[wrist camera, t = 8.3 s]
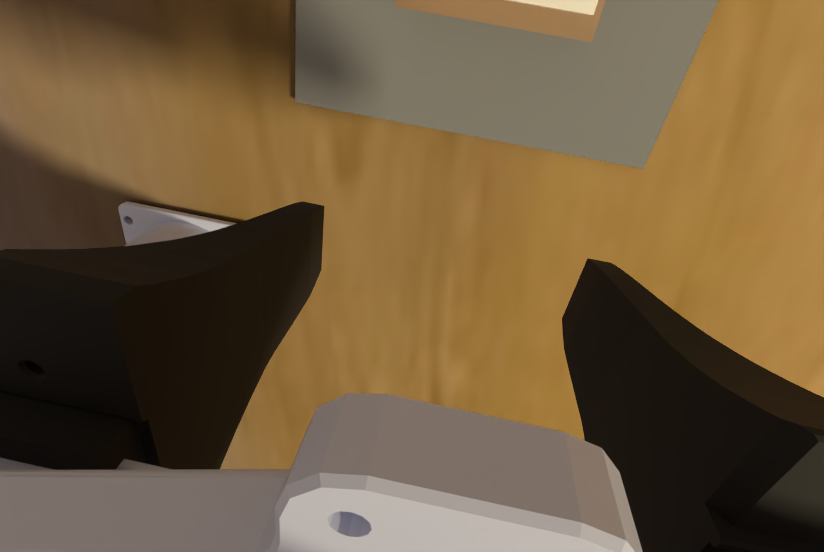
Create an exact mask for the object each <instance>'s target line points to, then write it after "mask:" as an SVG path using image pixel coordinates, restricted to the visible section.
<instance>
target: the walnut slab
mask: <svg viewBox="0 0 824 552" xmlns="http://www.w3.org/2000/svg"><path fill="white" fill-rule="evenodd" d="M605 1H606V0H598V3H597V6H596V9H595V12H594V15H587V14H579V13H573V12H567V11H562V10H556V9H550V8H545V7H539V6H534V5H528V4H522V3H517V2H511V1H506V0H395V6H394V7H400V8H405V9H411V10H416V11H422V12H427V13H433V14H438V15H444V16H450V17H455V18H461V19H466V20H472V21H477V22H483V23H488V24H494V25H499V26H505V27H510V28H516V29H521V30H527V31H532V32H538V33H543V34H549V35H554V36H560V37H565V38H571V39H576V40H582V41H587V42H592V40H593V37H594V34H595V31H596V28H597V25H598V22H599V19H600V16H601V13H602V10H603V7H604V4H605Z"/></svg>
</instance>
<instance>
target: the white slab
mask: <svg viewBox="0 0 824 552" xmlns="http://www.w3.org/2000/svg"><path fill="white" fill-rule="evenodd" d="M506 1H511V2H517V3H522V4H528V5H534V6H539V7H545V8H550V9H556V10H562V11H567V12H573V13H579V14H587V15H594V12H595V9H596V6H597V3H598V0H506Z"/></svg>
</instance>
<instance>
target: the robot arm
mask: <svg viewBox="0 0 824 552" xmlns="http://www.w3.org/2000/svg"><path fill="white" fill-rule="evenodd" d="M118 210H119V215H120V219H121V223H122V228H123V232H124V237H125V241H126V245H124V246H121V247H109V248H92V249H67V250H20V249H4V250H1V251H0V552H824V397H821V396H819V395H817V394H815V393H812V392H810V391H808V390H806V389H804V388H802V387H800V386H798V385H796V384H794V383H792V382H790V381H788V380H786V379H784V378H782V377H780V376H778V375H776V374H774V373H772V372H770V371H768V370H767V369H765V368H763V367H761V366H759V365H757V364H755V363H753V362H752V361H750V360H748V359H746V358H745V357H743V356H741V355H739V354H738V353H736V352H735V351H733V350H731V349H730V348H728V347H726V346H725V345H723V344H722V343H720V342H718V341H717V340H715V339H713V338H712V337H710V336H709V335H707V334H706V333H704V332H703V331H701V330H700V329H699V328H697V327H696V326H694V325H693V324H692V323H690V322H689V321H687V320H686V319H685V318H683V317H682V316H680V315H679V314H678V313H676V312H675V311H674V310H672V309H671V308H670V307H669V306H667V305H666V304H665V303H663V302H662V301H661V300H660V299H658V298H657V297H656V296H655V295H653V294H652V293H651V292H650V291H648V290H647V289H646V288H645V287H643V286H642V285H641V284H640V283H638V282H637V281H636V280H635V279H633V278H632V277H631V276H629V275H628V274H627V273H625V272H624V271H623V270H621V269H620V268H618V267H617V266H615V265H613V264H612V263H608V262H603V261H598V260H593V259H587V261H586V264H585V266H584V268H583V271H582V273H581V275H580V278H579V280H578V282H577V285H576V287H575V290H574V292H573V294H572V297H571V299H570V301H569V304H568V306H567V308H566V311H565V313H564V315H563V318H562V326H563V341H564V350H565V355H566V359H567V363H568V368H569V372H570V376H571V380H572V384H573V388H574V392H575V396H576V400H577V404H578V408H579V412H580V417H581V421H582V426H583V431H584V437H585V441H584V440H582V439H579V438H577V437H575V436H572V435H570V434H568V433H565V432H563V431H559V430H555V429H550V428H545V427H540V426H536V425H531V424H526V423H522V422H517V421H512V420H508V419H503V418H498V417H494V416H489V415H484V414H480V413H475V412H470V411H465V410H461V409H456V408H451V407H447V406H442V405H437V404H433V403H428V402H423V401H419V400H414V399H409V398H404V397H400V396H395V395H390V394H366V393H348V394H345V395H343V396H341V397H339V398H336V399H334V400H332V401H330V402H328V403H325V404H323V405H321V406H319V407H317V409H316V412H315V414H314V416H313V418H312V420H311V422H310V424H309V426H308V428H307V430H306V433H305V435H304V438H303V440H302V442H301V445H300V447H299V450H298V452H297V455H296V457H295V459H294V462H293V464H292V467H291V469H220V467H221V464H222V462H223V460H224V457H225V455H226V453H227V450H228V448H229V446H230V443H231V441H232V439H233V436H234V434H235V432H236V429H237V427H238V425H239V423H240V420H241V418H242V416H243V414H244V412H245V409H246V407H247V405H248V403H249V401H250V398H251V396H252V394H253V392H254V390H255V388H256V386H257V384H258V382H259V380H260V378H261V376H262V373H263V371H264V369H265V367H266V365H267V364H268V362H269V360H270V358H271V357H272V355H273V353H274V352H275V350H276V349H277V347H278V345H279V344H280V342H281V341H282V339H283V338H284V336H285V335H286V333H287V331H288V330H289V328H290V327H291V325H292V324H293V322H294V320H295V319H296V317H297V316H298V314H299V313H300V311H301V309H302V308H303V306H304V305H305V303H306V301H307V300H308V298H309V296H310V294H311V292H312V290H313V288H314V285H315V283H316V281H317V278H318V276H319V274H320V271H321V263H322V241H323V219H324V206H322V205H317V204H312V203H307V202H298V203H294V204H291V205H288V206H285V207H282V208H280V209H277V210H274V211H271V212H269V213H266V214H263V215H260V216H258V217H255V218H252V219H249V220H246V221H243V222H240V223H233V222H228V221H223V220H218V219H213V218H208V217H203V216H198V215H193V214H188V213H183V212H178V211H173V210H168V209H163V208H158V207H153V206H148V205H143V204H138V203H133V202H124V203H122V204H120V205H119V207H118ZM129 217H130V218H131V219H132V221H131V220H130V219H129Z"/></svg>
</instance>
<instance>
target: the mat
mask: <svg viewBox="0 0 824 552" xmlns="http://www.w3.org/2000/svg"><path fill="white" fill-rule="evenodd" d="M718 1H719V0H606V1H605V4H604V7H603V10H602V13H601V16H600V19H599V22H598V25H597V28H596V31H595V34H594V37H593V40H592V42H587V41H582V40H576V39H571V38H565V37H560V36H554V35H549V34H543V33H538V32H532V31H527V30H521V29H516V28H510V27H505V26H499V25H494V24H488V23H483V22H477V21H472V20H466V19H461V18H455V17H450V16H444V15H438V14H433V13H427V12H422V11H416V10H411V9H405V8H400V7H394V6H395V0H296V48H295V102H296V103H301V104H307V105H312V106H317V107H322V108H328V109H333V110H338V111H343V112H349V113H354V114H359V115H364V116H369V117H375V118H380V119H385V120H390V121H396V122H401V123H406V124H411V125H417V126H422V127H427V128H432V129H438V130H443V131H448V132H453V133H459V134H464V135H469V136H474V137H480V138H485V139H490V140H495V141H501V142H506V143H511V144H516V145H521V146H527V147H532V148H537V149H542V150H548V151H553V152H558V153H563V154H569V155H574V156H579V157H584V158H590V159H595V160H600V161H605V162H611V163H616V164H621V165H626V166H632V167H637V168H642V169H644V166H645V164H646V162H647V160H648V157H649V155H650V153H651V151H652V148H653V146H654V144H655V142H656V140H657V137H658V135H659V133H660V131H661V128H662V126H663V124H664V122H665V120H666V117H667V115H668V113H669V111H670V108H671V106H672V104H673V102H674V99H675V97H676V95H677V93H678V91H679V88H680V86H681V84H682V82H683V79H684V77H685V75H686V73H687V70H688V68H689V66H690V64H691V62H692V59H693V57H694V55H695V53H696V50H697V48H698V46H699V44H700V42H701V39H702V37H703V35H704V33H705V30H706V28H707V26H708V24H709V21H710V19H711V17H712V15H713V13H714V10H715V8H716V6H717V4H718Z"/></svg>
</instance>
